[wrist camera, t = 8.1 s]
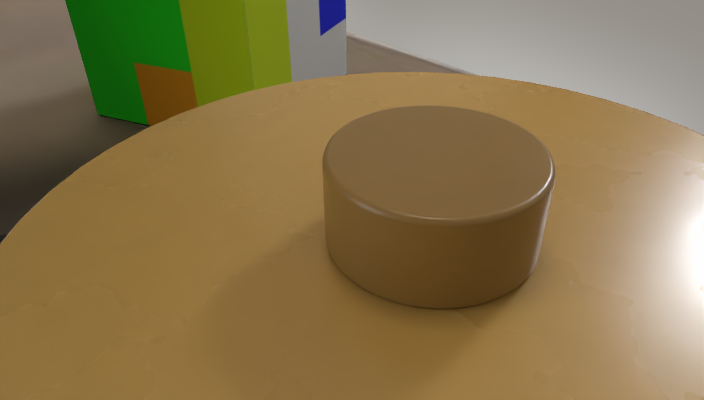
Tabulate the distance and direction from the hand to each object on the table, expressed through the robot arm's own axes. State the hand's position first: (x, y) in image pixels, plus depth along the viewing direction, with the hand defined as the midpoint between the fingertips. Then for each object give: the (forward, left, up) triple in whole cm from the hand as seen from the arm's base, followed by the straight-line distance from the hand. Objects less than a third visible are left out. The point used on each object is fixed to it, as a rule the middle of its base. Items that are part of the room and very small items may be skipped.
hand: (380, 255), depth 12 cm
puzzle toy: (-23, -1, -6) cm, 24 cm away
